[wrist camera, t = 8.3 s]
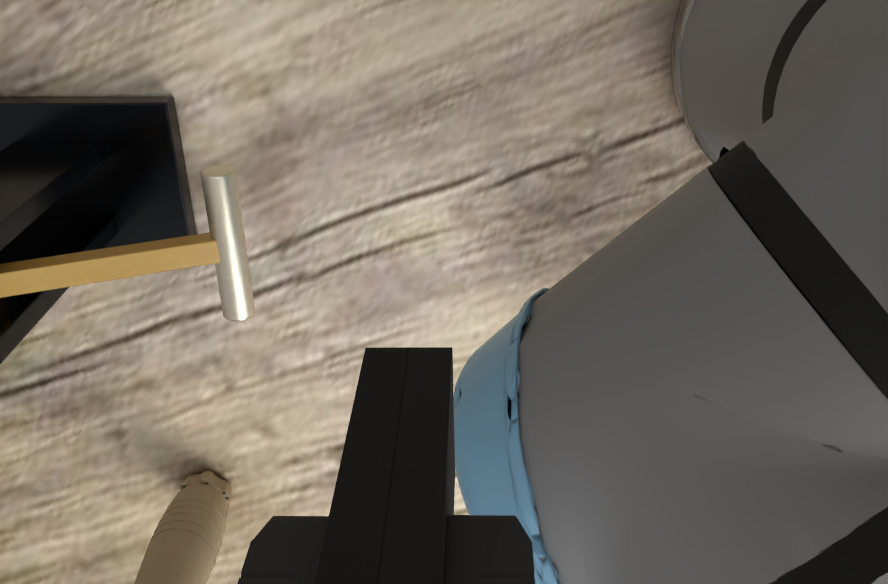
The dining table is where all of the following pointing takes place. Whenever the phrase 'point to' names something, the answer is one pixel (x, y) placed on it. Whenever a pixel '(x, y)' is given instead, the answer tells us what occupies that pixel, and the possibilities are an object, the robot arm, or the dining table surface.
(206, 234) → the lever
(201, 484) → the handle
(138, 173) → the bracket
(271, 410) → the dining table surface
